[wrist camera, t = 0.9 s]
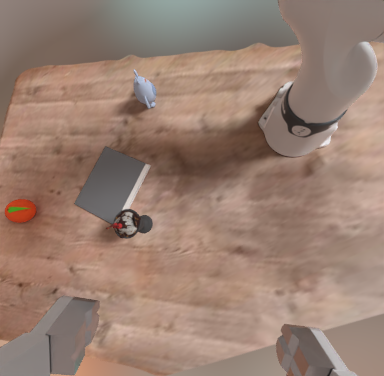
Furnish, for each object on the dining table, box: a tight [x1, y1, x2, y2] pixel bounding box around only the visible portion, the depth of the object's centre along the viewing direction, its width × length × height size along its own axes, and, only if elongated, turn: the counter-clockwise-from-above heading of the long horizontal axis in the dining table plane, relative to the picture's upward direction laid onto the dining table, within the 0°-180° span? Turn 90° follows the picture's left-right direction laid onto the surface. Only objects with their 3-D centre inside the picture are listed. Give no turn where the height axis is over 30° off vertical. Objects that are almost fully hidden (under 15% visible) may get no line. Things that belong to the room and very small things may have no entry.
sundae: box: [106, 209, 152, 238], centre depth 46 cm, size 7×7×15 cm
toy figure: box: [134, 69, 156, 109], centre depth 55 cm, size 11×6×12 cm, turn 13°
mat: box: [74, 146, 151, 224], centre depth 57 cm, size 20×17×1 cm
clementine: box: [5, 199, 36, 223], centre depth 56 cm, size 8×7×7 cm
